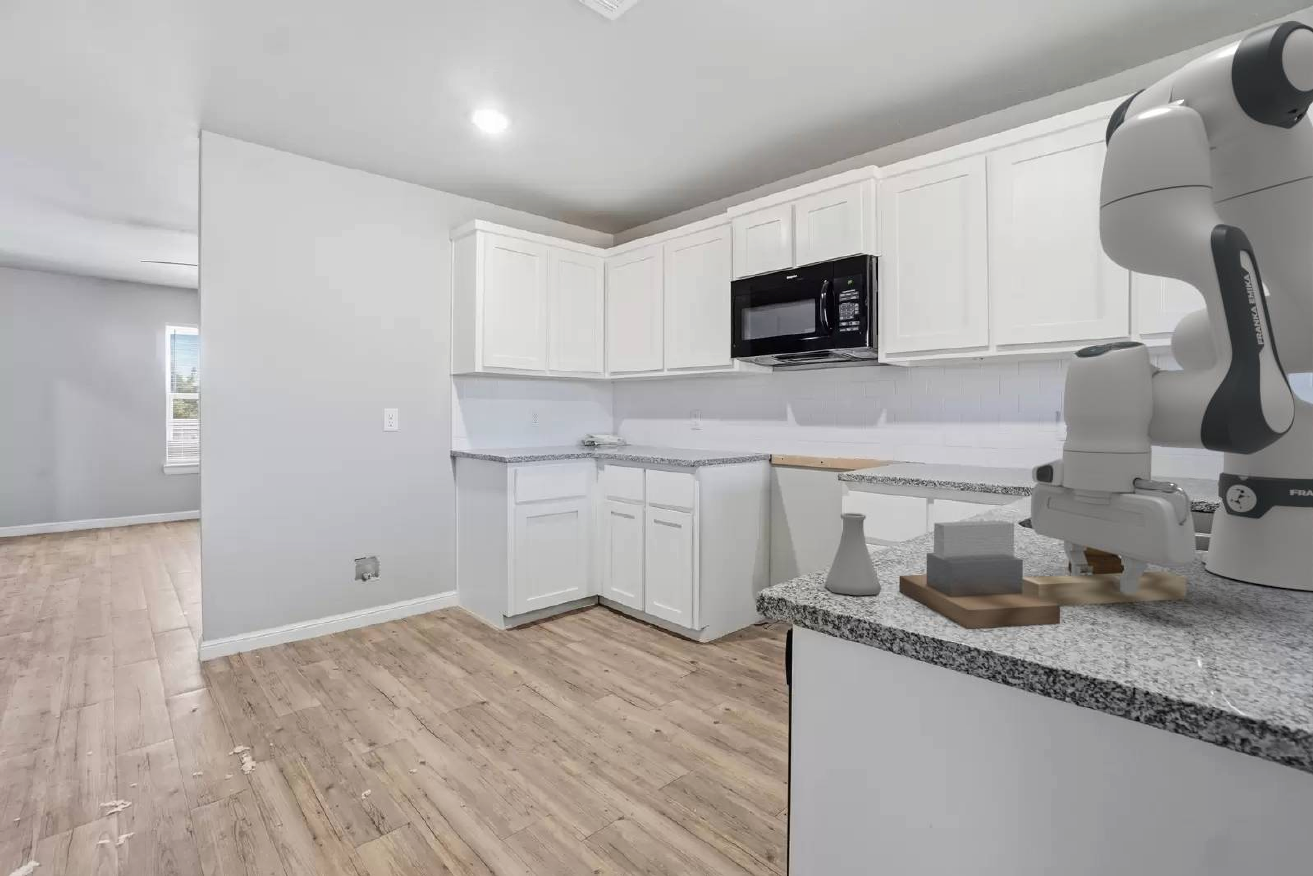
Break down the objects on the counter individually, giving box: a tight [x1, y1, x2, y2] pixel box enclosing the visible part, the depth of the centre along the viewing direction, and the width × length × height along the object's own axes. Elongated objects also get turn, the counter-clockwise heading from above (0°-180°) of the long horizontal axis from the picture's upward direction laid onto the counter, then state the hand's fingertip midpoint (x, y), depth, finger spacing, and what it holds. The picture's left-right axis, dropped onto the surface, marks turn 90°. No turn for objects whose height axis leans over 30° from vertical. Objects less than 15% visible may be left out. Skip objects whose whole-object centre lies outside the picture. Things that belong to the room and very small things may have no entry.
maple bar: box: [1022, 570, 1187, 606], centre depth 76 cm, size 20×3×3 cm, turn 97°
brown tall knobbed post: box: [1067, 547, 1125, 574], centre depth 87 cm, size 7×6×18 cm
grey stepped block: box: [926, 520, 1024, 597], centre depth 73 cm, size 9×5×8 cm, turn 98°
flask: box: [824, 512, 882, 596], centre depth 81 cm, size 7×7×10 cm
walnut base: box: [898, 574, 1061, 629], centre depth 74 cm, size 11×14×2 cm
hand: (1102, 585), depth 76 cm, fingers open, 5 cm apart
